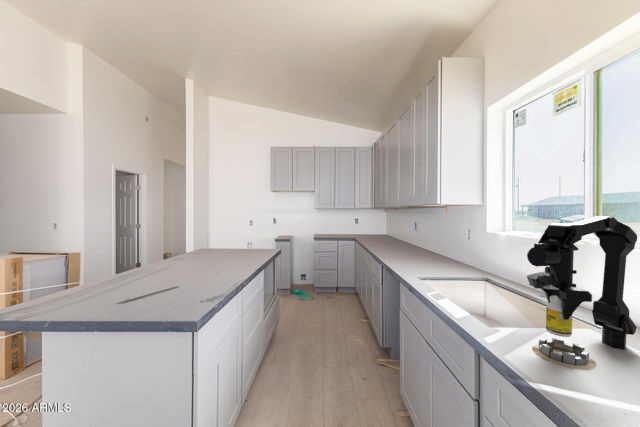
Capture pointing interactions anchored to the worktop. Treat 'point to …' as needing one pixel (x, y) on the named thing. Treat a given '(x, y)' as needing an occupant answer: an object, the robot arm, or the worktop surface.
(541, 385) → the worktop surface
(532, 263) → the robot arm
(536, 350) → the flange plate
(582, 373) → the worktop surface
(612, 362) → the worktop surface
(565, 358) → the castellated collar
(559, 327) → the pill bottle
